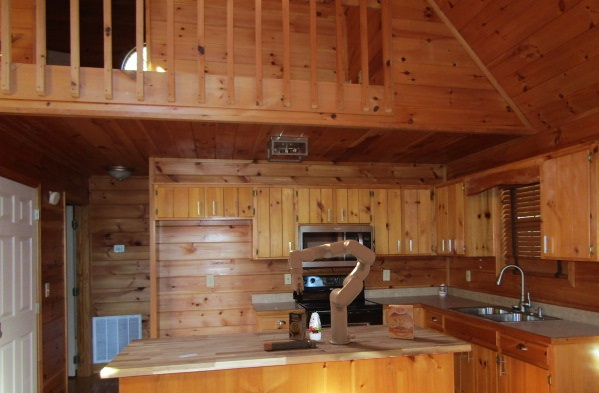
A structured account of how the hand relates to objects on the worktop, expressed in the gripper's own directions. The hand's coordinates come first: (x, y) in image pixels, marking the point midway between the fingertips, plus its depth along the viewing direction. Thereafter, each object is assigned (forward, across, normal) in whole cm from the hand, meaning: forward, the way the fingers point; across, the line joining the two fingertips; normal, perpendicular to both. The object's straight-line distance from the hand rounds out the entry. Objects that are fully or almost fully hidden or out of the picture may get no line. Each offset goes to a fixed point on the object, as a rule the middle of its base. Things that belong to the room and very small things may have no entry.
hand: (297, 300), depth 265 cm
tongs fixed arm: (+25, -6, +7) cm, 27 cm away
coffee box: (+26, +15, -2) cm, 30 cm away
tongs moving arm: (+25, -7, +9) cm, 28 cm away
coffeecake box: (+29, -1, -65) cm, 71 cm away
